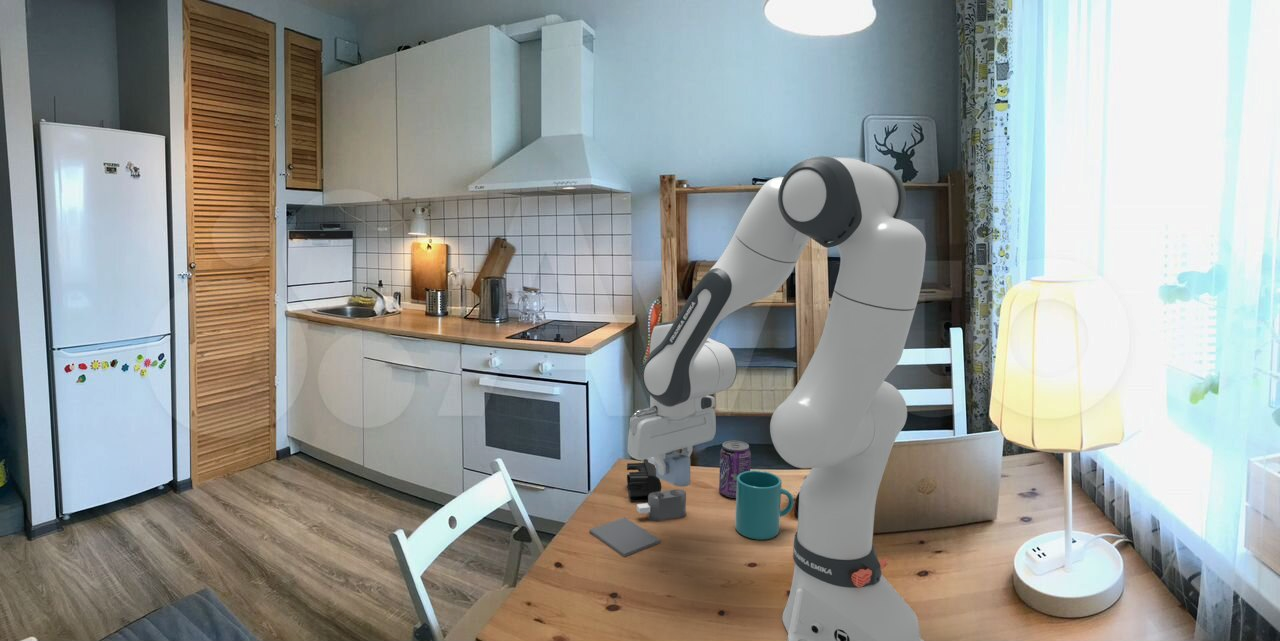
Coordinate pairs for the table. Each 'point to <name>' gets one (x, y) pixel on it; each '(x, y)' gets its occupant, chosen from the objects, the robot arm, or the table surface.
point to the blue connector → (675, 469)
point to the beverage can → (733, 465)
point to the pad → (624, 536)
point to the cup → (759, 504)
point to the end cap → (642, 481)
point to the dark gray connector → (664, 505)
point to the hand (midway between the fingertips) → (673, 470)
